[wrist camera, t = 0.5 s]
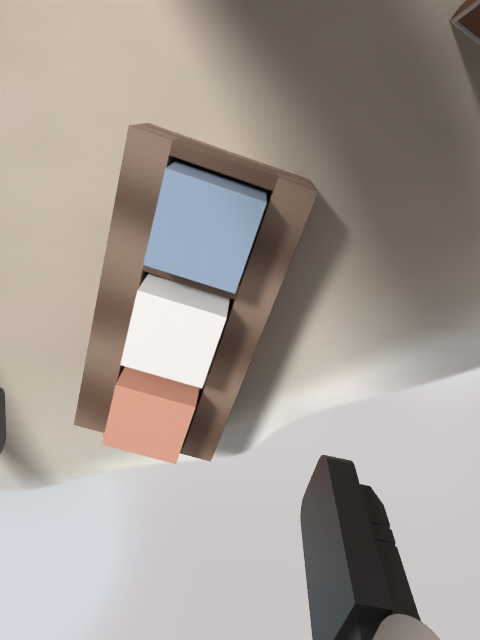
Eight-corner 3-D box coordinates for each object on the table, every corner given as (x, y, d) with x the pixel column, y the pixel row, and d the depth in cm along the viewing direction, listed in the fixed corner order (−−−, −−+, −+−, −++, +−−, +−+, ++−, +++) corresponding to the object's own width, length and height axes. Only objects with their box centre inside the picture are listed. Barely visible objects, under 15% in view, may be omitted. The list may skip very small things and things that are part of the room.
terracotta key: (129, 358, 28) (115, 384, 25) (201, 379, 28) (195, 407, 26) (115, 414, 30) (101, 444, 27) (183, 432, 31) (175, 463, 28)
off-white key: (150, 270, 25) (137, 290, 22) (230, 295, 26) (226, 317, 23) (133, 339, 27) (120, 365, 25) (207, 361, 28) (202, 388, 25)
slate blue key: (176, 160, 22) (165, 168, 19) (265, 191, 23) (266, 202, 20) (155, 247, 24) (143, 264, 22) (237, 273, 25) (235, 293, 22)
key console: (148, 123, 24) (128, 125, 21) (309, 180, 25) (318, 191, 22) (93, 390, 33) (73, 424, 29) (215, 424, 34) (210, 461, 30)
